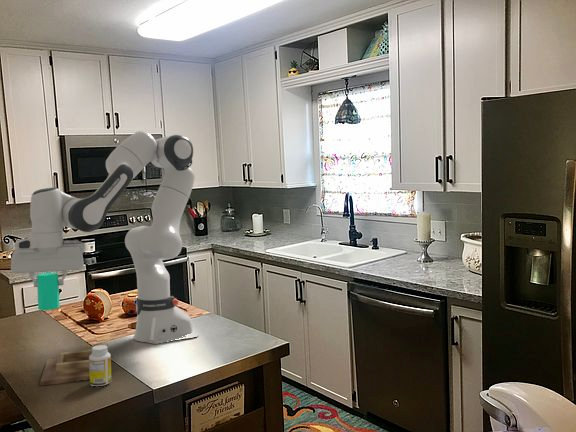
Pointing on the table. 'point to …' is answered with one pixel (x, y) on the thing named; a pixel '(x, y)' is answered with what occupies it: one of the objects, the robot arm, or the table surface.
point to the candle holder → (67, 368)
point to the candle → (48, 291)
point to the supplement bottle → (100, 366)
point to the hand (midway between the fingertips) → (49, 285)
